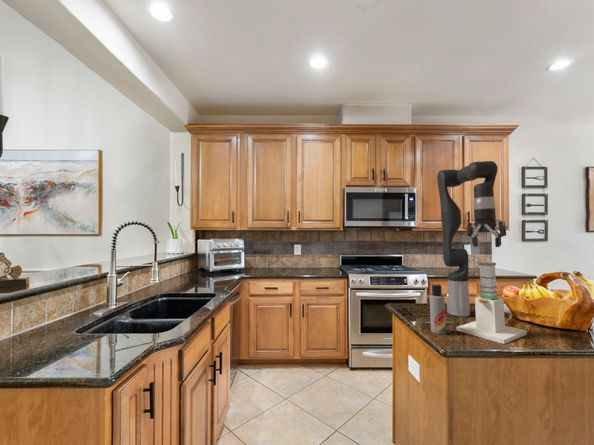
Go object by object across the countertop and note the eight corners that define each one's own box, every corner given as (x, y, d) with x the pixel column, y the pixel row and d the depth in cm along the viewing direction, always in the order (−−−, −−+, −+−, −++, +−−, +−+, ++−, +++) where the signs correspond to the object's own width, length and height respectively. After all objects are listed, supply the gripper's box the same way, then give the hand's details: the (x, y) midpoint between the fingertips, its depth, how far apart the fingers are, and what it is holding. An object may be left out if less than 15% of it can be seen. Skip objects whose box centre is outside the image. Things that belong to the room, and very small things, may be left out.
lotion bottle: (448, 334, 117) (445, 285, 118) (433, 334, 118) (431, 285, 119) (443, 330, 123) (441, 283, 123) (429, 329, 124) (427, 283, 125)
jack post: (480, 310, 120) (478, 262, 120) (486, 308, 122) (484, 261, 123) (492, 313, 116) (490, 263, 116) (498, 311, 118) (496, 262, 119)
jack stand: (456, 330, 122) (455, 297, 122) (479, 322, 131) (478, 292, 131) (504, 344, 106) (502, 306, 107) (526, 334, 115) (524, 299, 116)
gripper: (508, 207, 116) (510, 246, 115) (472, 209, 128) (473, 246, 128) (498, 206, 112) (500, 247, 112) (462, 209, 125) (464, 246, 124)
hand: (486, 246), depth 120 cm, fingers open, 8 cm apart
